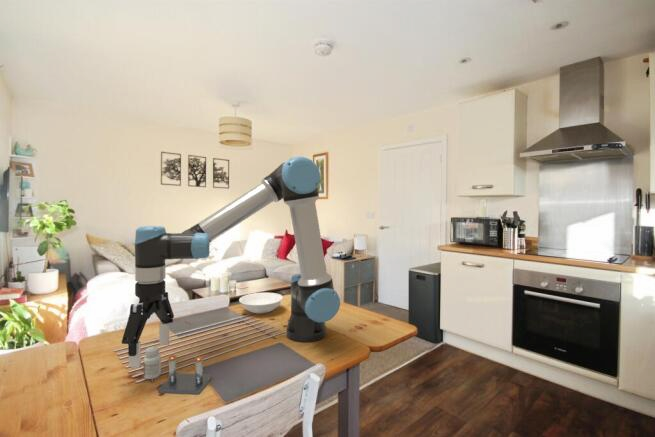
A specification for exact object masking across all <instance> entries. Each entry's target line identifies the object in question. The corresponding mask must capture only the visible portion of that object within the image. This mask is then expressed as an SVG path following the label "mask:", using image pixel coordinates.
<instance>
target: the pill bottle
mask: <svg viewBox="0 0 655 437" xmlns="http://www.w3.org/2000/svg"><path fill="white" fill-rule="evenodd" d="M144 351H145V352H144V355H145V357H144V358H143V359H142V360H143V362H142V363H143V378H144V379H146V380H153V379H156V378H159V377H160V376H161V375H162V358H161V357H162V356H161V354H160V348H159V347H158V346H150V347H147V348H146V349H145V350H144Z"/></svg>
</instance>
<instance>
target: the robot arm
mask: <svg viewBox="0 0 655 437" xmlns="http://www.w3.org/2000/svg"><path fill="white" fill-rule="evenodd" d="M320 181H321V172H320V168H319V167H318V165H317V164H316V163H315V162H314V160H312V159H310V158H308V157H305V156H295V157H291V158H289V159H287V160H286V161H285V162H282V163H281V164H280V165H279V166H278V167H277V168H275V169H274V170H273V171H272V172H270V174H268V175H267V176H265V177H264V178H262V179H261V182H260V184H258V185H255V187H253V188H251V189H250V190H249V191H247V192H245V193H243V194H242V195H241V196H238V197H237V198H235V199H233V200H232V201H231V202H229V203H228V204H225V205H224V206H223V207H221V208H220V209H218V210H217V211H215V212H214V213H212V214H211V215H209V216H207V217H205V218H204V219H202V220H201V221H199V222H198V223H197V224H194V225H193V226H191V227H190V228H188V229H185V230H184V231H182V232H181V233H177V232H176V233H175V232H174V233H172V232H171V233H169V232H167V230H166V228H165V227H164V226H163V225H162V226H160V225H159V226H158V225H157V226H156V225H155V226H154V225H153V226H152V225H149V226H148V225H147V226H139V227H137V228H136V230H135V235H134V236H135V238H134V258H135V259H134V263H135V264H134V266H135V267H134V268H135V270H134V271H135V272H134V273H135V274H134V278H135V279H134V280H135V282H136V283H134V290H135V291H134V295H135V296H136V297H137V298H138V300H139V301H138V303H132V304H131V305H130V307H129V309H130V310H129V315H128V318H127V322H126V326H125V329H124V332H123V336H122V339H121V345H127V346H128V347H127V349H128V352H127V354H128V368H140V367H141V366H142V365H141V362H142V360H141V352H142V351H141V350H142V347H141V345H142V344H141V341H140V338H141V336H142V334H143V331H144V328H145V326H146V324H147V321H148V320H149V319H150V318H151V316H152V315H154V314H155V316H156V317H157V318H158V319H159V321H160V323H159V326H158V327H159V330H158V334H159V336H158V337H159V338H158V339H159V340H158V341H159V342H158V343H159V345H158V346H170V324H172V323H173V322H174V318H175V315H174V312H173V308H172V306H171V305H172V304H171V302H170V300H169V292H168V291H166V281H165V279H166V260H191V259H193V260H194V259H195V260H199V259H206V258H208V257H209V256H210V244H211V242H213V241H214V240H216V239H217V238H219V237H221V236H222V235H224V234H225V233H226V232H228V231H230V230H231V229H233V228H235V227H236V226H238V225H239V224H241V223H242V222H244V221H245V220H247V219H248V218H250V217H251V216H253V215H255V214H256V213H257V212H259V211H261V210H262V209H263V208H265V207H267V206H268V205H270V204H271V203H273V202H275V203H278V202H280V201H281V200H283V203H284V204H285V205H287V206H288V207H289V211H290V218H291V224H292V230H293V235H294V241H295V248H296V253H297V259H298V264H299V271H300V273H295V274H293V275H292V276H291V278H290V309H291V310H290V316H289V320H288V323H287V326H286V334H285V335H286V337H287V338H288V339H290V340H292V341H294V342H301V343H309V342H315V341H319V340H322V339H324V338H325V337H326V336H327V326H326V322H329V321H330V320H332V319H333V318H335V317H336V315H337V314H338V312H339V310H340V307H341V298H340V296H339V294H338V292H337V291H336V290H335V287H334V283H333V282H334V281H333V276H332V275H331V274H330V273H328V272H327V268H326V267H327V266H326V260H325V256H324V255H325V254H324V249H323V242H322V237H321V236H322V235H321V229H320V222H319V219H318V218H319V217H318V211H317V204H316V202H317V200H318V199H319V196H320V194H319V188H318V186H319V184H320Z"/></svg>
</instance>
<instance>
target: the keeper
mask: <svg viewBox="0 0 655 437" xmlns="http://www.w3.org/2000/svg"><path fill="white" fill-rule="evenodd" d="M167 358H168V359H167V360H168V378H167V379H166V380H165V381H164V382H163V383H162V385H160V386H159V387H158V388H157V393H160V394H180V395H182V394H183V395H184V394H186V395H200V394H201V392H203V390H205V388H206V386H207V385H208V383H210V381H211V380H212V379H213V374H212V373H210V374H209V373H204V371H203V370H204V369H203V360H204V357H203V356H201V355H200V356H199V355H198V356H195V358H194V362H195V363H194V364H195V365H194V366H195V369H194V370H195V372H194V373H189V372H188V373H184V372H183V373H182V372H177V355H174V354H173V355H170V356H168V357H167ZM211 378H212V379H211ZM210 379H211V380H210Z"/></svg>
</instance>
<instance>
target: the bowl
mask: <svg viewBox="0 0 655 437" xmlns="http://www.w3.org/2000/svg"><path fill="white" fill-rule="evenodd" d="M283 300H284V296H283V295H282V294H279V293H275V292H264V291H263V292H254V293H249V294H245V295H243V296H241V297H239V299H238V302H239V303H240V304H241V306H242V308H243V309H244V310H246V311H247V312H250V313H252V314H256V315H257V314H258V315H260V314H267V313H270V312H272V311H274V310H275V309H276V308H278V307H279V306H280V305H281V302H282V301H283Z"/></svg>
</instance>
